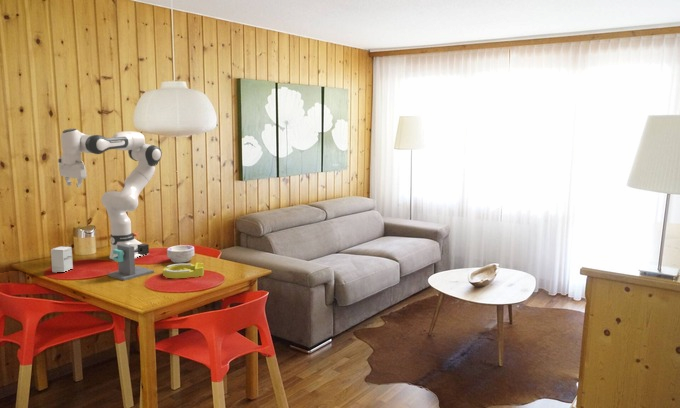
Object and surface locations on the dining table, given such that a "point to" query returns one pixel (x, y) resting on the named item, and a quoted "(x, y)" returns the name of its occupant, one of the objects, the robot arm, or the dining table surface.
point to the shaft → (138, 250)
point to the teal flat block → (120, 255)
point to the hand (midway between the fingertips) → (74, 186)
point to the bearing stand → (128, 265)
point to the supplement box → (61, 259)
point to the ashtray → (184, 270)
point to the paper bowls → (180, 253)
